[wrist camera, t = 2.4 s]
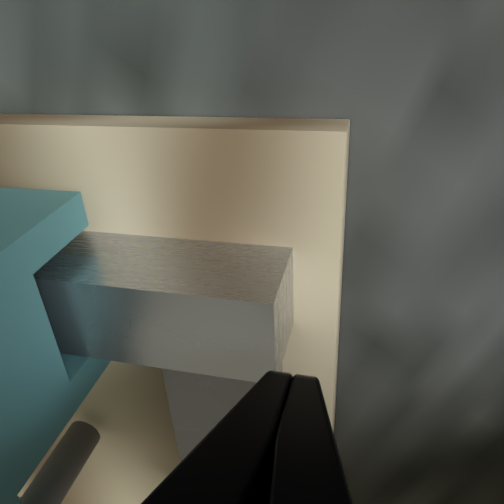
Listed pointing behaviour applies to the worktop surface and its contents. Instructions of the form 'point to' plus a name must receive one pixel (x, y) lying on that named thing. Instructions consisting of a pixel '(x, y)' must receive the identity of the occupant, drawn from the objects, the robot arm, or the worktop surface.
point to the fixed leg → (199, 404)
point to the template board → (196, 228)
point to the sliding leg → (38, 353)
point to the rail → (171, 303)
